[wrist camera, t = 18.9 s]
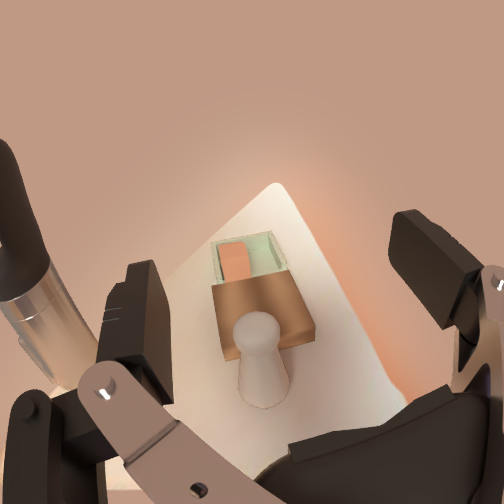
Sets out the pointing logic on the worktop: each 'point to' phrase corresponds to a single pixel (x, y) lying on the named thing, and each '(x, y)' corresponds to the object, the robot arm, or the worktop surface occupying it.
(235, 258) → the light orange cube
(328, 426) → the worktop surface
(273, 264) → the tray
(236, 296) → the board
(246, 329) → the salt shaker
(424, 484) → the robot arm
